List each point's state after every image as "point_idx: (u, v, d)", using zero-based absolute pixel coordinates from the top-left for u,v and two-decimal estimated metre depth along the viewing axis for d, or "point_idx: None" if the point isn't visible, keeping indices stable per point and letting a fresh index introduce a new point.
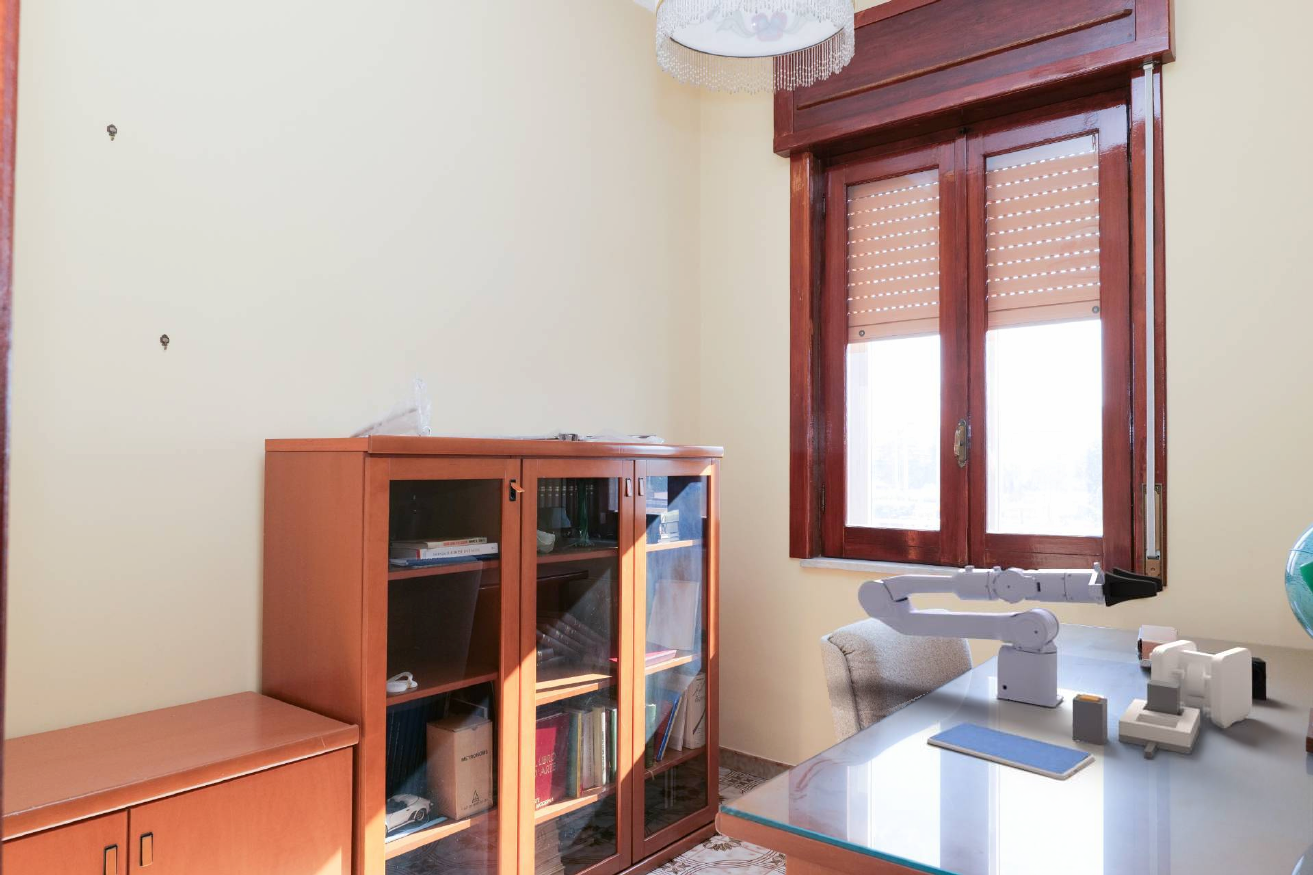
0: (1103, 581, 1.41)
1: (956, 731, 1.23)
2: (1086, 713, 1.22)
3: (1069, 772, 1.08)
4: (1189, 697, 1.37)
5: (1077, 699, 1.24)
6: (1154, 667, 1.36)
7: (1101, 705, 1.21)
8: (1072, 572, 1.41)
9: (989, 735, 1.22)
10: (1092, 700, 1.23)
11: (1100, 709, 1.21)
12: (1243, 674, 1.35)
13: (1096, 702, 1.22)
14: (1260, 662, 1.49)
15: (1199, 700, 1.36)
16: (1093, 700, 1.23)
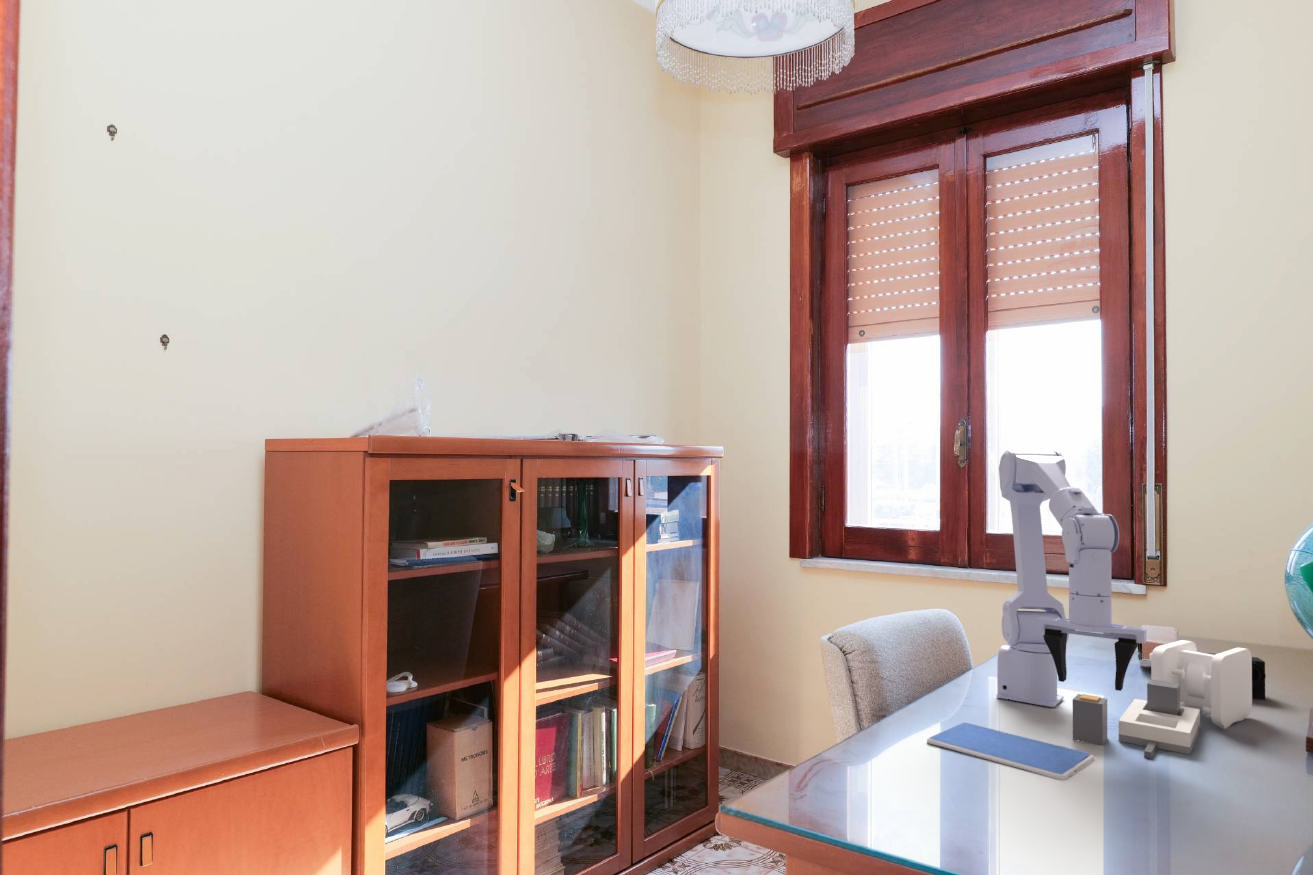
0: None
1: (956, 732, 1.23)
2: (1086, 713, 1.22)
3: (1069, 772, 1.08)
4: (1189, 697, 1.37)
5: (1077, 699, 1.24)
6: (1154, 667, 1.36)
7: (1101, 705, 1.21)
8: (1076, 601, 1.23)
9: (989, 735, 1.22)
10: (1092, 700, 1.23)
11: (1100, 709, 1.21)
12: (1243, 674, 1.35)
13: (1096, 702, 1.22)
14: (1259, 662, 1.49)
15: (1199, 700, 1.36)
16: (1093, 700, 1.23)
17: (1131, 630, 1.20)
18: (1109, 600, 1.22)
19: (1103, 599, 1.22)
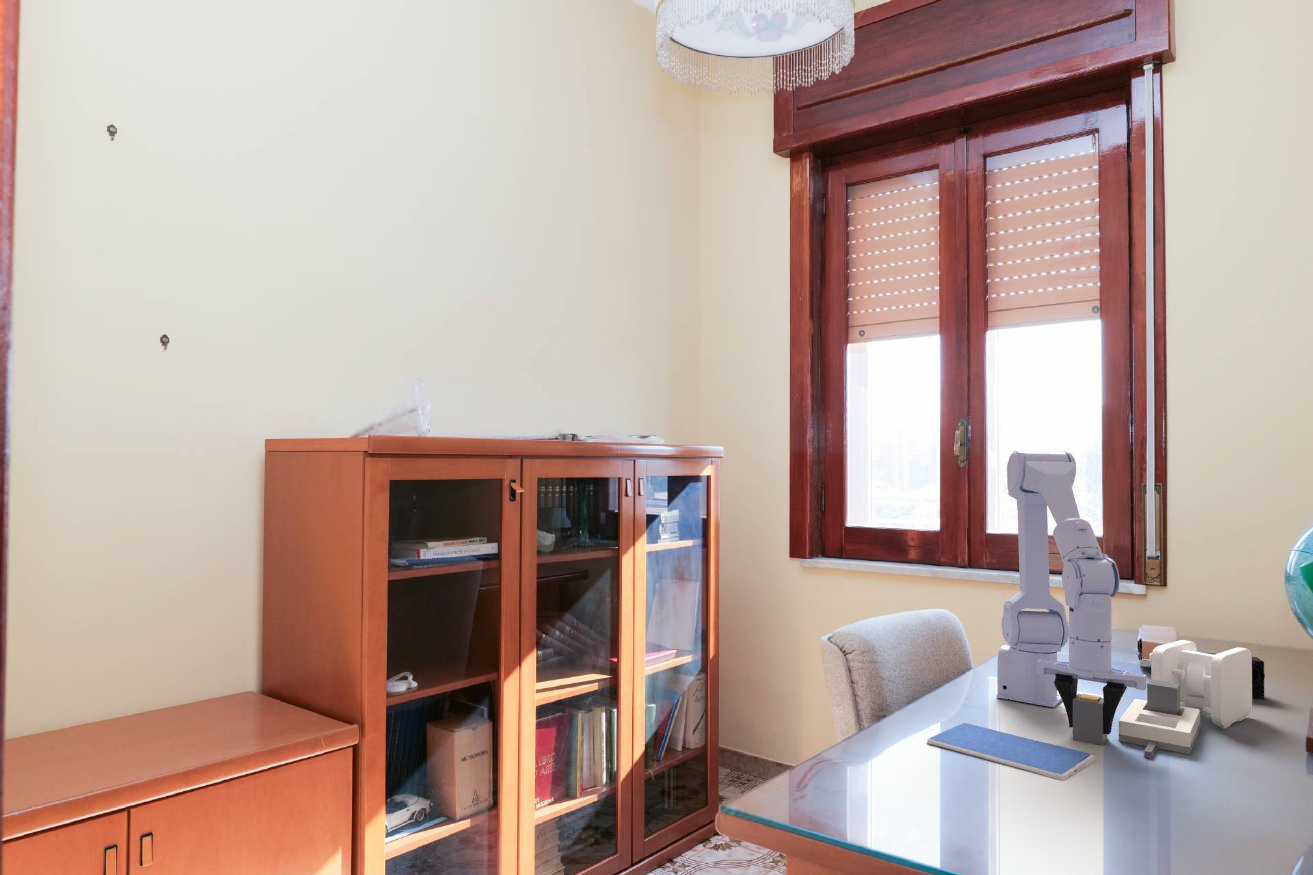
0: None
1: (956, 732, 1.23)
2: (1086, 713, 1.22)
3: (1069, 772, 1.08)
4: (1189, 697, 1.37)
5: (1077, 699, 1.24)
6: (1154, 667, 1.36)
7: (1101, 705, 1.21)
8: (1076, 646, 1.23)
9: (989, 735, 1.22)
10: (1092, 700, 1.23)
11: (1100, 709, 1.21)
12: (1243, 674, 1.35)
13: (1096, 702, 1.22)
14: (1258, 661, 1.49)
15: (1199, 700, 1.36)
16: (1093, 700, 1.22)
17: (1131, 676, 1.20)
18: (1109, 645, 1.22)
19: (1103, 644, 1.21)
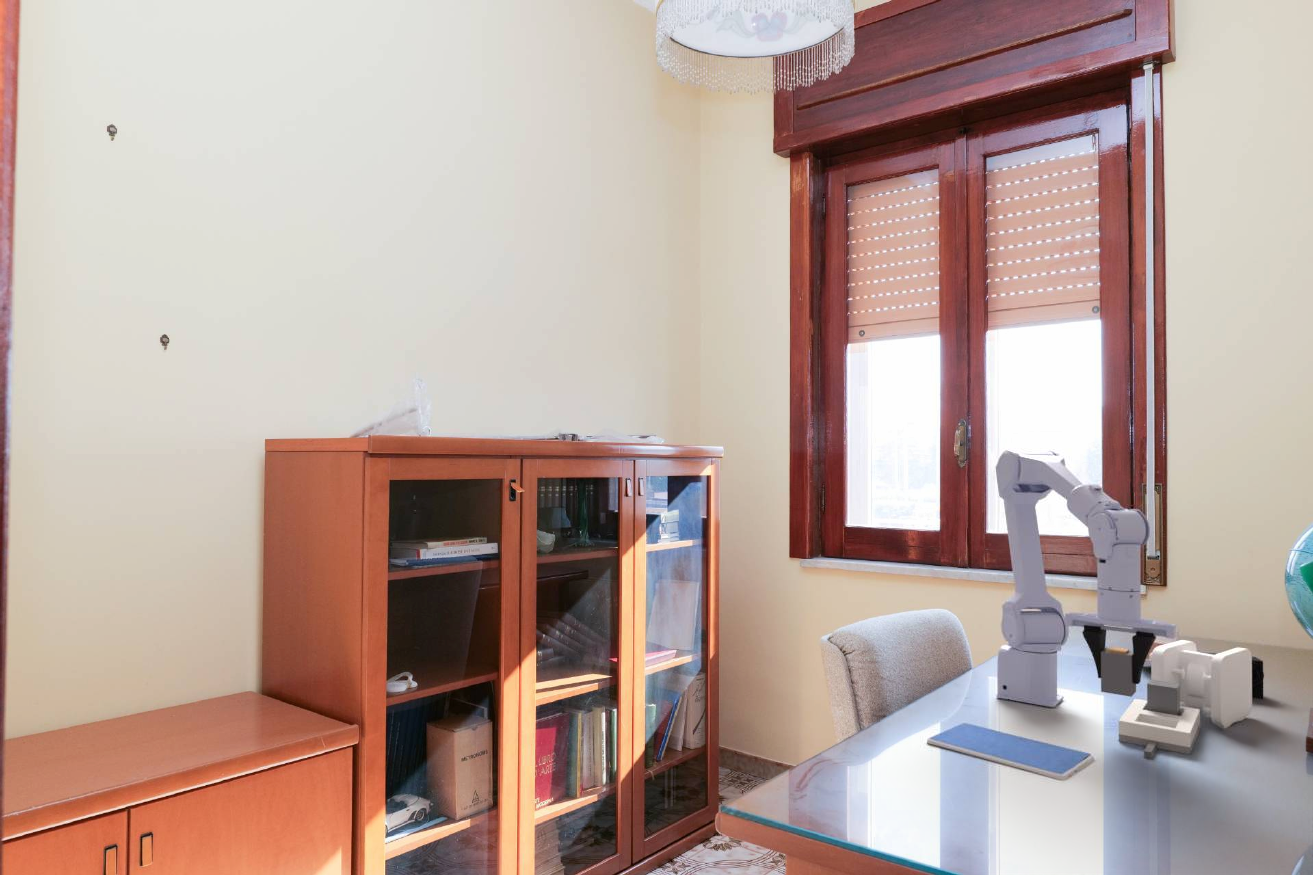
0: None
1: (956, 732, 1.23)
2: (1115, 665, 1.22)
3: (1069, 772, 1.08)
4: (1189, 697, 1.37)
5: (1105, 651, 1.24)
6: (1154, 667, 1.36)
7: (1130, 656, 1.21)
8: (1105, 596, 1.23)
9: (989, 735, 1.22)
10: (1121, 652, 1.23)
11: (1129, 660, 1.21)
12: (1243, 674, 1.35)
13: (1125, 654, 1.22)
14: (1257, 661, 1.50)
15: (1199, 700, 1.36)
16: (1122, 652, 1.23)
17: (1161, 625, 1.20)
18: (1138, 595, 1.22)
19: (1132, 594, 1.22)
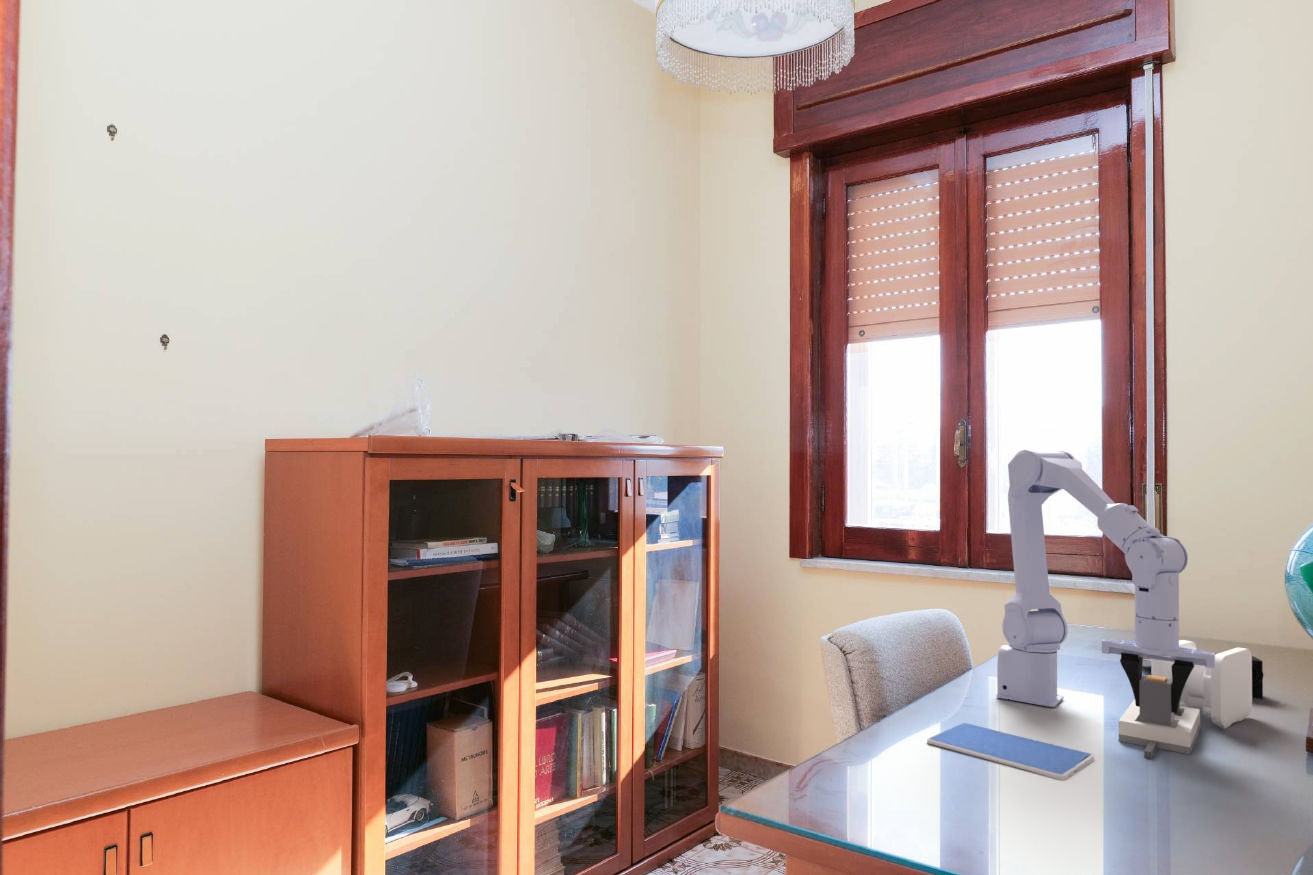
0: None
1: (956, 732, 1.23)
2: (1154, 694, 1.22)
3: (1069, 772, 1.08)
4: (1189, 697, 1.37)
5: (1144, 680, 1.23)
6: (1154, 667, 1.36)
7: (1169, 685, 1.21)
8: (1143, 625, 1.23)
9: (989, 735, 1.22)
10: (1159, 680, 1.22)
11: (1168, 689, 1.21)
12: (1243, 674, 1.35)
13: (1164, 682, 1.22)
14: (1257, 661, 1.50)
15: (1199, 700, 1.36)
16: (1160, 680, 1.22)
17: (1200, 654, 1.20)
18: (1177, 624, 1.22)
19: (1171, 623, 1.21)
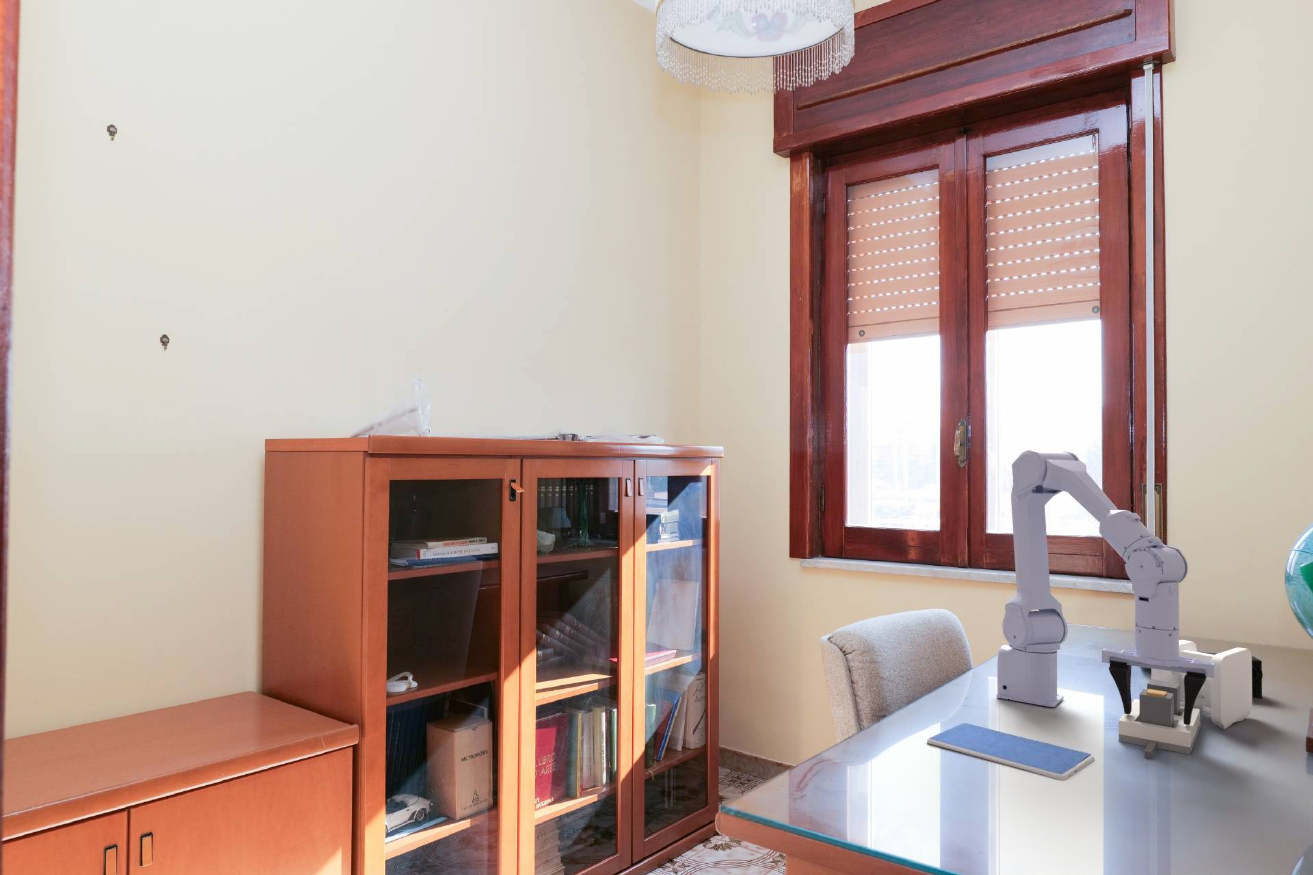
0: None
1: (956, 732, 1.23)
2: (1154, 708, 1.22)
3: (1069, 772, 1.08)
4: None
5: (1144, 694, 1.23)
6: None
7: (1169, 700, 1.21)
8: (1143, 634, 1.23)
9: (989, 735, 1.22)
10: (1159, 695, 1.22)
11: (1168, 704, 1.21)
12: (1243, 674, 1.35)
13: (1164, 697, 1.22)
14: (1256, 661, 1.50)
15: (1199, 700, 1.36)
16: (1160, 695, 1.22)
17: (1200, 664, 1.20)
18: (1177, 633, 1.22)
19: (1171, 633, 1.21)
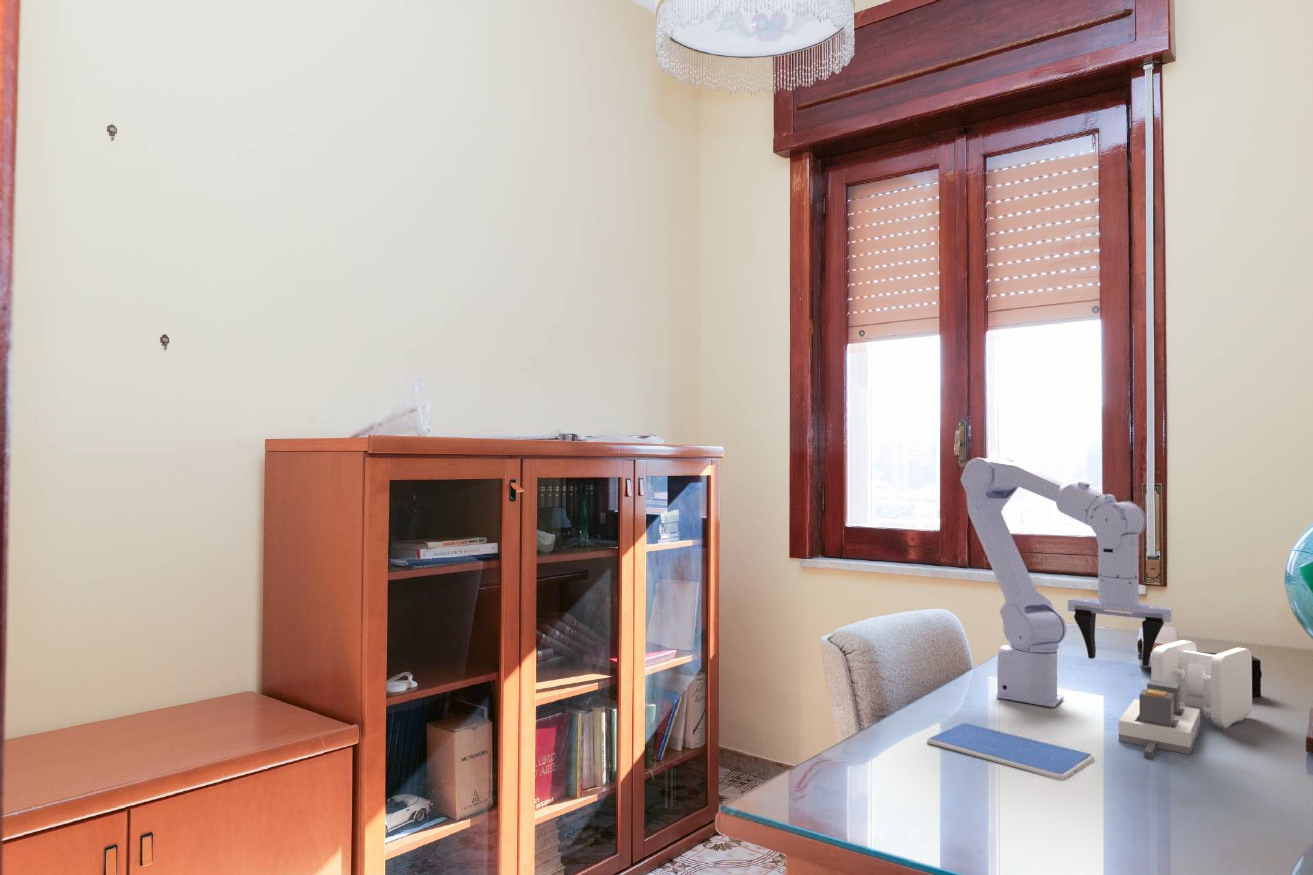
0: None
1: (956, 732, 1.23)
2: (1154, 708, 1.22)
3: (1069, 772, 1.08)
4: (1189, 697, 1.37)
5: (1144, 694, 1.23)
6: (1154, 667, 1.36)
7: (1169, 700, 1.21)
8: (1105, 583, 1.32)
9: (989, 735, 1.22)
10: (1159, 695, 1.22)
11: (1168, 704, 1.21)
12: (1243, 674, 1.35)
13: (1164, 697, 1.22)
14: (1255, 660, 1.50)
15: (1199, 700, 1.36)
16: (1160, 695, 1.22)
17: (1158, 609, 1.28)
18: (1137, 582, 1.31)
19: (1131, 581, 1.30)
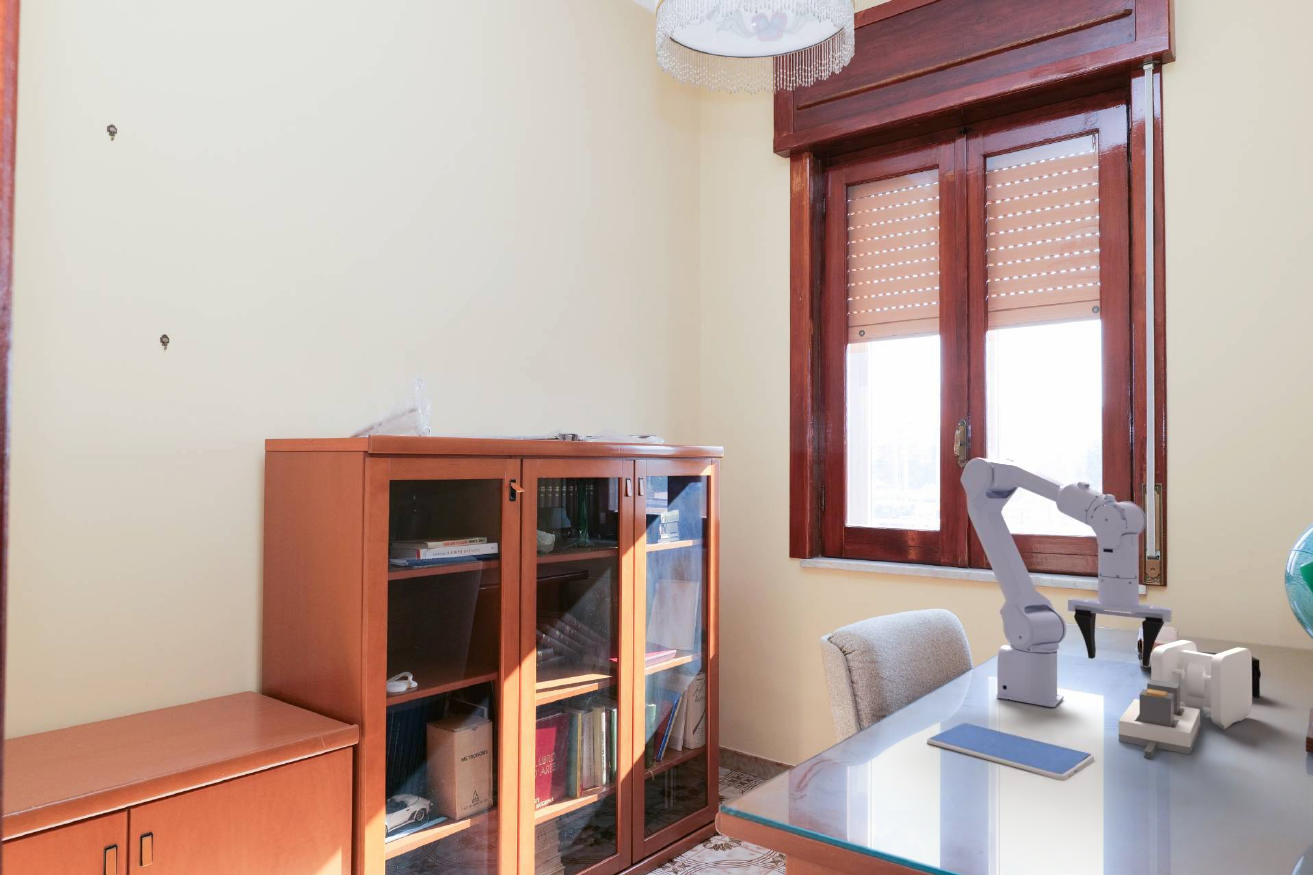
0: None
1: (956, 732, 1.23)
2: (1154, 708, 1.22)
3: (1069, 772, 1.08)
4: (1189, 697, 1.37)
5: (1144, 694, 1.23)
6: (1154, 667, 1.36)
7: (1169, 700, 1.21)
8: (1105, 583, 1.32)
9: (989, 735, 1.22)
10: (1159, 695, 1.22)
11: (1168, 704, 1.21)
12: (1243, 674, 1.35)
13: (1164, 697, 1.22)
14: (1254, 660, 1.50)
15: (1199, 700, 1.36)
16: (1160, 695, 1.22)
17: (1158, 609, 1.28)
18: (1137, 582, 1.31)
19: (1131, 581, 1.30)
